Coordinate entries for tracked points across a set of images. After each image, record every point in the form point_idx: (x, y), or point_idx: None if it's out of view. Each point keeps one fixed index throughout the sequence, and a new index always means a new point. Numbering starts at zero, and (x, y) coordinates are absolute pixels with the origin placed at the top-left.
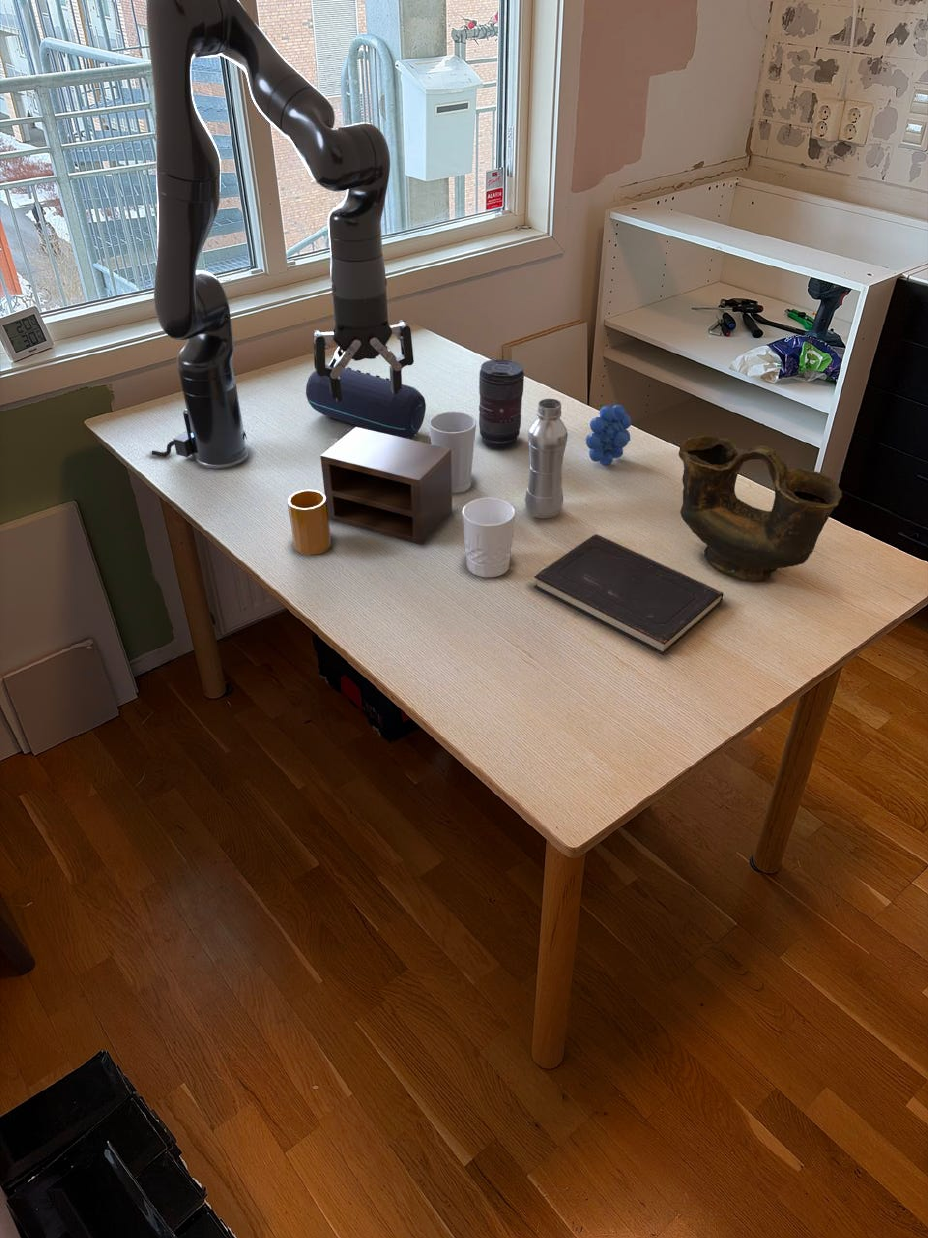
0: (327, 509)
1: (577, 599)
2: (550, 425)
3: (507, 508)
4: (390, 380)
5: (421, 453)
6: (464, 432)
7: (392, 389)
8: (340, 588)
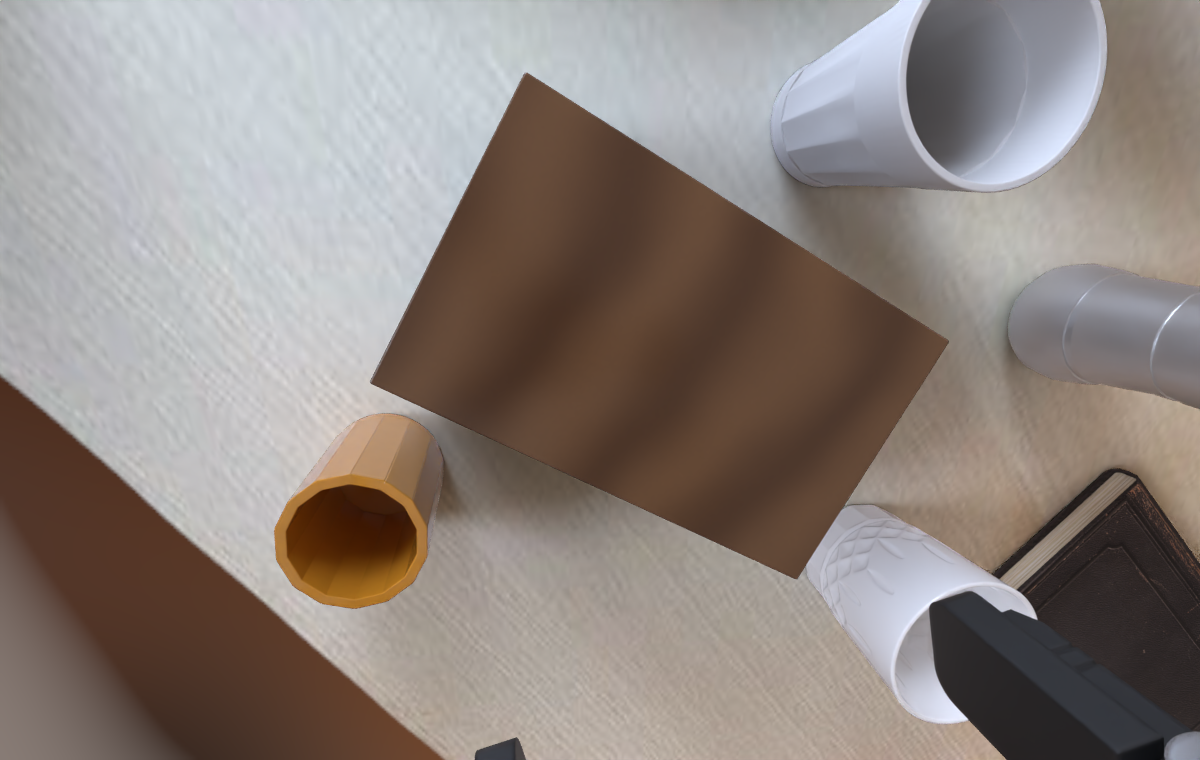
0: (432, 506)
1: None
2: None
3: (1013, 601)
4: (988, 651)
5: (827, 377)
6: (1030, 181)
7: (951, 665)
8: (491, 649)
